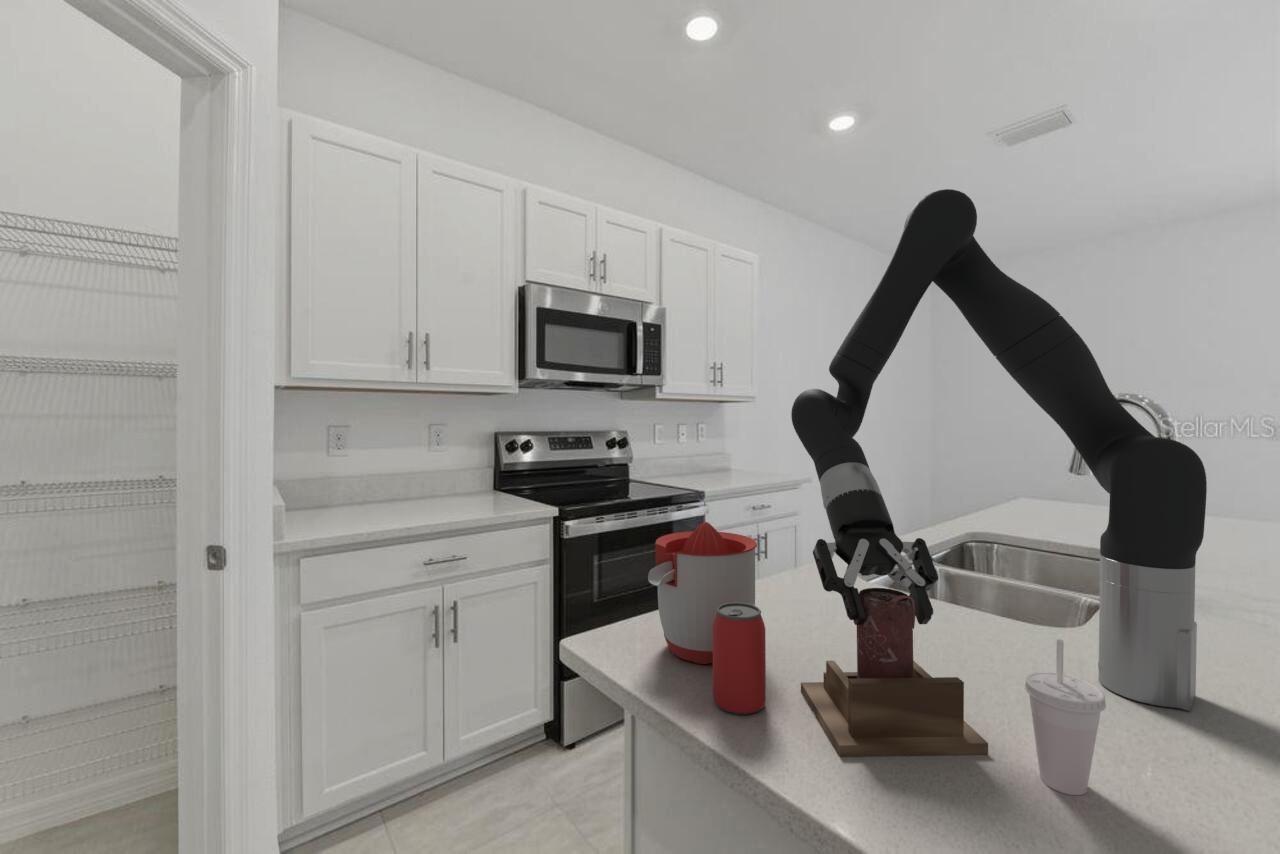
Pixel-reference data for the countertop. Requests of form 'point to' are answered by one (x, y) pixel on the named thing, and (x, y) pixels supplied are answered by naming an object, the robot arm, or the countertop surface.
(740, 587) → the citrus juicer
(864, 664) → the can
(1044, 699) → the smoothie
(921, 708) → the dock
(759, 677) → the beer can
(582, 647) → the countertop surface
